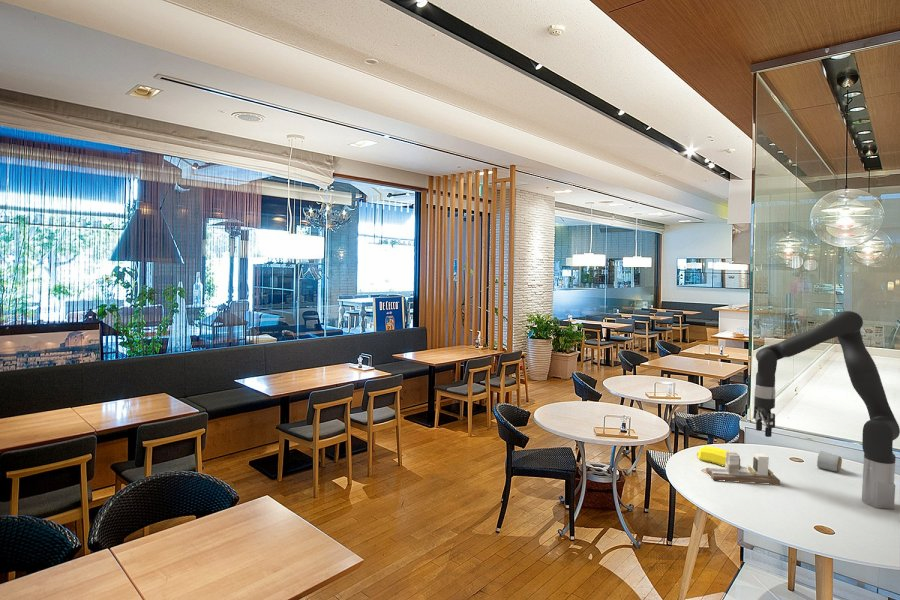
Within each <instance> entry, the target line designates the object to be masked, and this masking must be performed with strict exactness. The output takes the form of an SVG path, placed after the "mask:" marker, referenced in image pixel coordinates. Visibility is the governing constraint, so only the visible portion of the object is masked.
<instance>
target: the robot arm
mask: <svg viewBox="0 0 900 600" xmlns="http://www.w3.org/2000/svg"><path fill="white" fill-rule="evenodd" d="M863 324H864V321H863V318H862V316H861V315H860V313H857V312H855V311H852V310H844V311H840V312H839V313H836V314H835V315H834V316H833V317H832V318H831V319H829V320H827V321H826V322H824V323H823V324H820V325H818V326H817V327H814V328H811V329H808V330H806V331H803V332H801V333H799V334H798V333H797V334H795V335H792V336H791V337H788V338H786V339H784V340H782V341H779V342H778V343H773V344H771V345H768V346H764V347H762V348H760V349H758V351H756V353H755V358H756V361H757V372H756V373H755V386H754V398H753V399H754V401H753V416H752V417H753V420H754V421H755V422H756V423H755V430H756V431H759V432H760V431H762V430H763V424H764V426H765V428H764V436H765V437H766V438H769V437H770V438H771V437H772V431H773V429H775V428H776V413H773V412H772V411H771V410H772V409H775V408H776V407H775V406H776V372H777V367H778V361H779V360H781V359H783V358H791V357H794V356H797V355H799V354H800V353H803V352H805V351H807V350H809V349H811V348H813V347H816V346H817V345H820V344H821V343H824V342H826V341H828V340H829V341H830V340H832V339H834V338H837V340H838V342H839V345H840V347H841V349H842V354H843V358H844V363H845V366H846V370H847V373H848V376H849V379H850V383H851V385H852V387H853V389H854V391H855V392H856V393H857V394H858V396H859V397H860V398H861V400H862V401H863V403H864V404H865V407H866V409H867V413H868V416H869V417H868V418H869V420H867V421H865V423H864V425H863V428H862V434H861V435H862V439H861V440H862V443H861V444H862V445H861V446H862V447H861V448H862V451H863V454H864V455H863V468H862V469H863V470H862V483H861V484H862V485H861V487H862V488H861V501H862V502H864V503H865V504H867V505H868V506H872V507H874V508H877V509H889V510H894V509H895V499H896V498H895V497H896V484H895V473H896V459H897V458H896V454H895V453H894V451H893V445H894V443H893V441H895V440H896V439H898V437H900V426H899V423H898V421H897V418H896V417H895V415H894V413H893V411H892V408H891V406H890V404H889V402H888V397H887V395H886V391H885V389H884V386H883V382H882V378H881V376H880V373H879V370H878V367H877V365H876V363H875V361H874V359H873V358H872V356H871V354H870V353H869V351H868V349H867V347H866V346H865V343H864V341H863V336H862V333H861V329H862V327H863Z"/></svg>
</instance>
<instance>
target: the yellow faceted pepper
mask: <svg viewBox="0 0 900 600" xmlns="http://www.w3.org/2000/svg"><path fill="white" fill-rule="evenodd" d="M726 452H731V451H729V450H726V449H723V448H720V447H716V446H715V447H714V446H708V445H704V446H702V447H700V448H699V449H698V451H697V453H696V456H697V459H699V460H700V461H702V460H704V461H703V462H706V461H708V462H707V463H711V462H712V463H713V464H716V465H719V466H722V465H723V466H722V467H725V466H726Z"/></svg>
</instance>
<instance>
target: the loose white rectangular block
mask: <svg viewBox="0 0 900 600" xmlns="http://www.w3.org/2000/svg"><path fill="white" fill-rule="evenodd" d="M752 461H753V462H752V465H753V466H752V469H753V470H754V471H756V474H757V475H765V476H768V469H769V456H768V455H767V454H765V453H757V452H756V453H754V455H753V459H752Z"/></svg>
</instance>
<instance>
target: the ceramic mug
mask: <svg viewBox="0 0 900 600" xmlns="http://www.w3.org/2000/svg"><path fill="white" fill-rule="evenodd" d="M842 461H843V458H842V457H841V456H839V455H838V454H837V455H836V454H832V453H830V452H827V451H823V450H819V452H818V455H817V461H816V466H817V468H818V469H823V470H827V471H831V472H835V473H837V472H840V471H841V469H842V465H843V464H842V463H843V462H842Z"/></svg>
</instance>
